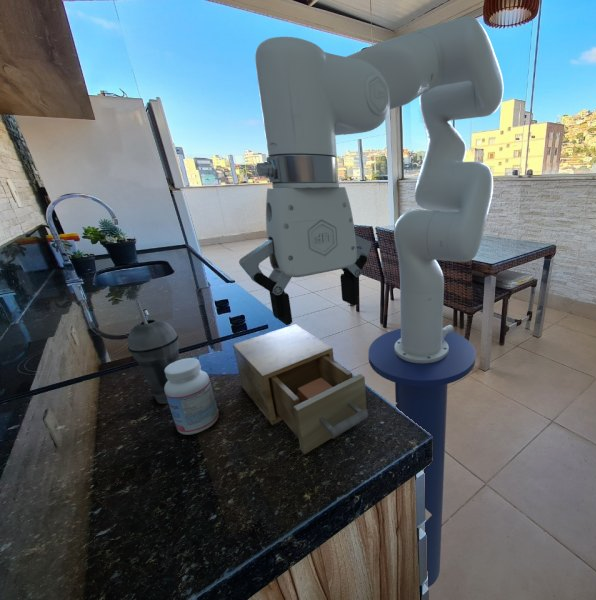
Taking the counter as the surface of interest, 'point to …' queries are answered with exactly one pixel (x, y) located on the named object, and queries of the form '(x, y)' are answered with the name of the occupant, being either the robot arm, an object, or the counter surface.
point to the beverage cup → (154, 351)
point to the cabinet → (274, 361)
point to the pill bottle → (190, 396)
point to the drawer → (319, 401)
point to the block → (312, 389)
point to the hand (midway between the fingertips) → (319, 311)
